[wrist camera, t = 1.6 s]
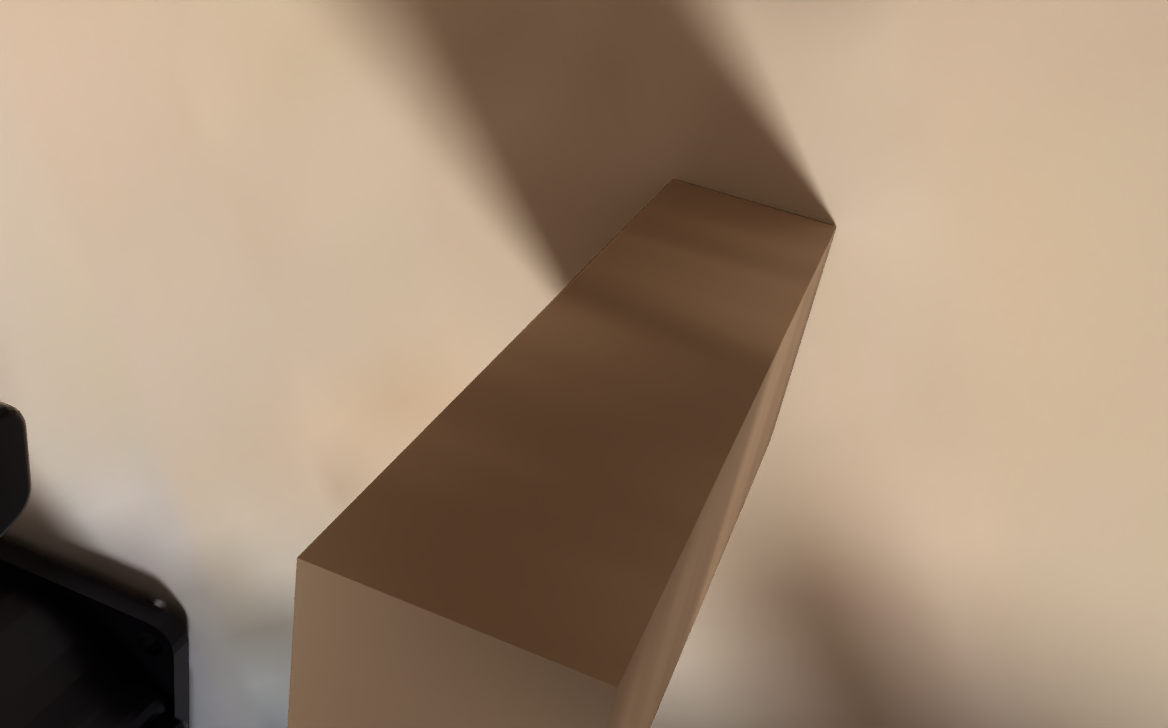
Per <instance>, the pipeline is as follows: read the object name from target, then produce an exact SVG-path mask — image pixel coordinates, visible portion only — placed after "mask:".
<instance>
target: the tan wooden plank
mask: <svg viewBox="0 0 1168 728" xmlns="http://www.w3.org/2000/svg"><path fill="white" fill-rule="evenodd" d="M835 230H836V226H833V225H830V224H826V223H823V222H819V221H816V220H812V219H809V218H806V217H802V216H799V215H795V214H792V213H788V212H785V211H782V210H778V209H775V208H771V207H768V206H764V205H761V204H758V203H754V202H751V201H747V200H744V199H740V198H737V197H734V196H730V195H727V194H723V193H720V192H716V191H713V190H710V189H706V188H703V187H699V186H696V185H692V184H689V183H686V182H682V181H679V180H675V179H673V180H672V181H671V182H670V183H669V184H668V185H667V186H666V187H665V188H664V189H663V190H662V191H661V192H660V193H659V194H658V195H657V196H656V197H655V198H654V199H653V200H652V201H651V202H650V203H649V204H648V205H647V206H646V207H645V208H644V209H643V210H642V211H641V212H640V213H639V214H638V215H637V216H636V217H635V218H634V219H633V220H632V221H631V222H630V223H629V224H628V225H627V226H626V227H625V228H624V229H623V230H622V231H621V232H620V233H619V234H618V235H617V236H616V237H615V238H614V239H613V240H612V241H611V242H610V243H609V244H608V245H607V246H606V247H605V248H604V249H603V250H602V251H601V252H600V253H599V254H598V255H597V256H596V257H595V258H594V259H593V260H592V261H591V262H590V263H589V264H588V265H587V266H586V267H585V268H584V269H583V270H582V271H581V272H580V273H579V274H578V275H577V276H576V277H575V278H574V279H573V280H572V281H571V282H570V283H569V284H568V285H567V286H566V287H565V288H564V289H563V290H562V291H561V292H560V293H559V294H558V295H557V296H556V297H555V298H554V299H553V300H552V301H551V302H550V303H549V304H548V306H547V307H546V308H545V309H544V310H543V311H542V312H541V313H540V314H539V315H538V316H537V317H536V318H535V319H534V320H533V321H532V322H531V323H530V324H529V325H528V326H527V327H526V328H525V329H524V330H523V331H522V332H521V333H520V334H519V335H518V336H517V337H516V338H515V339H514V340H513V341H512V342H511V343H510V344H509V345H508V346H507V347H506V348H505V349H504V350H503V351H502V352H501V353H500V354H499V355H498V356H497V357H496V358H495V359H494V360H493V361H492V362H491V363H490V364H489V365H488V366H487V367H486V368H485V369H484V370H483V371H482V372H481V373H480V374H479V375H478V376H477V377H476V378H475V379H474V380H473V381H472V382H471V383H470V384H469V385H468V386H467V387H466V388H465V389H464V390H463V391H462V392H461V393H460V394H459V395H458V396H457V397H456V398H455V399H454V400H453V401H452V402H451V403H450V404H449V405H448V406H447V407H446V408H445V409H444V410H443V411H442V412H441V413H440V414H439V415H438V416H437V417H436V418H435V419H434V420H433V421H432V422H431V423H430V424H429V425H428V426H427V427H426V428H425V429H424V430H423V431H422V432H421V433H420V435H419V436H418V437H417V438H416V439H415V440H414V441H413V442H412V443H411V444H410V445H409V446H408V447H407V448H406V449H405V450H404V451H403V452H402V453H401V454H400V455H399V456H398V457H397V458H396V459H395V460H394V461H393V462H392V463H391V464H390V465H389V466H388V467H387V468H386V469H385V470H384V471H383V472H382V473H381V474H380V475H379V476H378V477H377V478H376V479H375V480H374V481H373V482H372V483H371V484H370V485H369V486H368V487H367V488H366V489H365V490H364V491H363V492H362V493H361V494H360V495H359V496H358V497H357V498H356V499H355V500H354V501H353V502H352V503H351V504H350V505H349V506H348V507H347V508H346V509H345V510H344V511H343V512H342V513H341V514H340V515H339V516H338V517H337V518H336V519H335V520H334V521H333V522H332V523H331V524H330V525H329V526H328V527H327V528H326V529H325V530H324V531H323V532H322V533H321V534H320V535H319V536H318V537H317V538H316V539H315V540H314V541H313V542H312V543H311V544H310V545H309V546H308V547H307V548H306V549H305V550H304V551H303V552H302V553H301V554H300V555H299V556H298V557H297V569H296V587H295V605H294V623H293V641H292V659H291V676H290V695H289V713H288V728H650V727H651V724H652V722H653V720H654V717H655V715H656V712H657V710H658V708H659V705H660V703H661V700H662V698H663V696H664V693H665V691H666V688H667V686H668V684H669V681H670V679H671V676H672V674H673V672H674V669H675V667H676V664H677V662H678V660H679V657H680V655H681V653H682V650H683V648H684V645H685V643H686V641H687V638H688V636H689V633H690V631H691V629H692V626H693V624H694V621H695V619H696V617H697V614H698V612H699V609H700V607H701V605H702V602H703V600H704V597H705V595H706V593H707V590H708V588H709V586H710V583H711V581H712V578H713V576H714V574H715V571H716V569H717V566H718V564H719V562H720V559H721V557H722V554H723V552H724V550H725V547H726V545H727V542H728V540H729V538H730V535H731V533H732V530H733V528H734V526H735V523H736V521H737V519H738V516H739V514H740V511H741V509H742V507H743V504H744V502H745V499H746V497H747V495H748V492H749V490H750V487H751V485H752V483H753V480H754V478H755V475H756V473H757V471H758V468H759V466H760V463H761V461H762V459H763V456H764V454H765V452H766V449H767V447H768V444H769V442H770V439H771V436H772V433H773V430H774V427H775V423H776V420H777V417H778V414H779V410H780V407H781V404H782V401H783V398H784V394H785V391H786V388H787V385H788V381H789V378H790V375H791V372H792V369H793V365H794V362H795V359H796V356H797V352H798V349H799V346H800V343H801V339H802V336H803V333H804V330H805V327H806V323H807V320H808V317H809V314H810V310H811V307H812V304H813V301H814V298H815V294H816V291H817V288H818V285H819V281H820V278H821V275H822V272H823V268H824V265H825V262H826V259H827V256H828V252H829V249H830V246H831V243H832V239H833V236H834V233H835Z"/></svg>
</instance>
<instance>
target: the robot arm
mask: <svg viewBox="0 0 1168 728" xmlns="http://www.w3.org/2000/svg"><path fill="white" fill-rule="evenodd" d="M30 493H31V475H30V464H29V453H28V442H27V431H26V423H25V420H24V418H23V416H22V414H21V413H20V411H19V410H17V409H16V408H15V407H13V406H11V405H8V404H5V403H3V402H0V537H1V536H2V535H3V534H4V533H5V532H6V531H7V530H8V529H9V527H10V526H11V525H12V524H13V523H14V522H15V521H16V520H17V519H18V517H19V516H20V515H21V514H22V512H23V510H24V509H25V507H26V505H27V503H28V500H29V498H30ZM0 728H189V651H188V636H187V632H186V630H185V629H184V627H183V625H182V623H181V622H180V621H179V620H178V619H177V618H176V617H175V616H174V615H172V614H171V613H169V612H167V611H166V610H164V609H161V608H159V607H157V606H154V605H152V604H150V603H147V602H145V601H143V600H140V599H138V598H136V597H133V596H131V595H129V594H126V593H124V592H122V591H119V590H117V589H115V588H112V587H110V586H108V585H105V584H103V583H101V582H99V581H96V580H94V579H92V578H89V577H87V576H85V575H82V574H80V573H78V572H75V571H73V570H71V569H68V568H66V567H64V566H61V565H59V564H57V563H54V562H52V561H50V560H47V559H45V558H43V557H40V556H38V555H36V554H33V553H31V552H29V551H26V550H24V549H22V548H19V547H17V546H15V545H12V544H10V543H8V542H5V541H3V540H1V539H0Z"/></svg>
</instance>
